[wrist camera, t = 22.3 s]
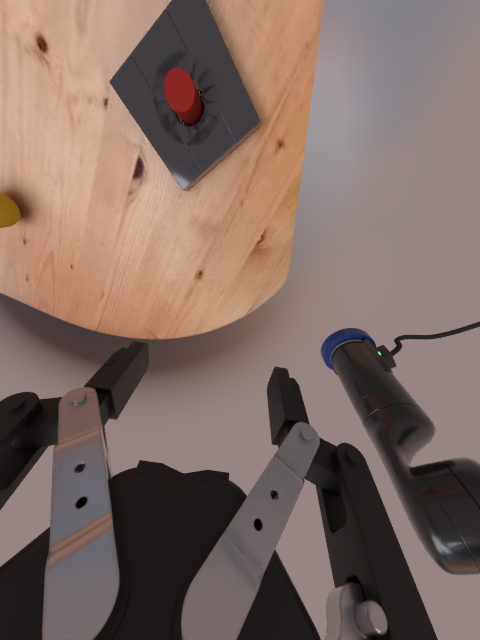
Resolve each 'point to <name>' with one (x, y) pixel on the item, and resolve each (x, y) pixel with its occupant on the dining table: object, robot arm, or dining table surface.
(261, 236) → the dining table surface
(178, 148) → the grey square base
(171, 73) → the stopper
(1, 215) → the lemon
